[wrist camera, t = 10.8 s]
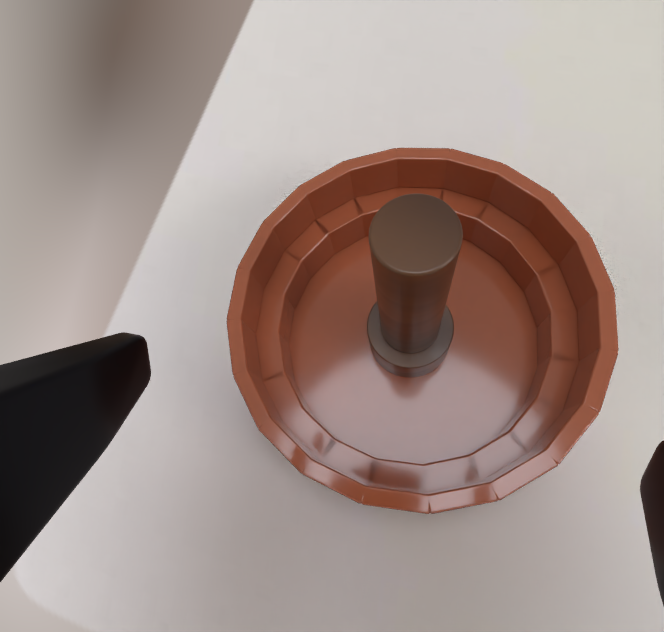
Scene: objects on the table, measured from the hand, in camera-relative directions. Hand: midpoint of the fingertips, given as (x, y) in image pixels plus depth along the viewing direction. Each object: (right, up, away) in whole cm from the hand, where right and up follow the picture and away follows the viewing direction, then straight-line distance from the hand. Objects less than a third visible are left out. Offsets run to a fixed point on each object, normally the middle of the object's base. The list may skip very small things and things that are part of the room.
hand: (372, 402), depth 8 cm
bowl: (+3, 0, +14) cm, 14 cm away
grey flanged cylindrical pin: (+3, 0, +13) cm, 13 cm away
